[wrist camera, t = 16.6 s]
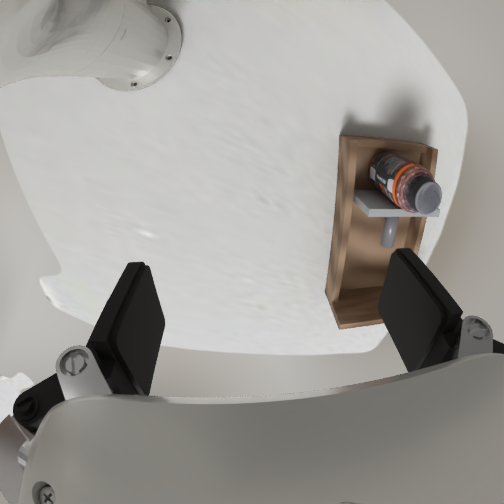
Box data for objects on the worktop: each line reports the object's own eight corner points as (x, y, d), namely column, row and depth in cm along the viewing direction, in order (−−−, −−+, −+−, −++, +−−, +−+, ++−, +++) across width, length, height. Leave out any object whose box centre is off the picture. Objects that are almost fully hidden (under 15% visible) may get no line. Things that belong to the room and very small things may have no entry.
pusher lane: (339, 135, 34) (367, 147, 26) (422, 143, 34) (459, 159, 26) (325, 292, 47) (339, 329, 40) (394, 285, 48) (415, 317, 40)
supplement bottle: (359, 179, 36) (398, 211, 26) (377, 142, 33) (423, 162, 24) (390, 196, 37) (432, 230, 28) (408, 161, 35) (455, 187, 25)
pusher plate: (349, 189, 37) (369, 209, 31) (414, 191, 37) (440, 209, 31) (344, 234, 40) (360, 260, 34) (406, 232, 40) (428, 255, 34)
